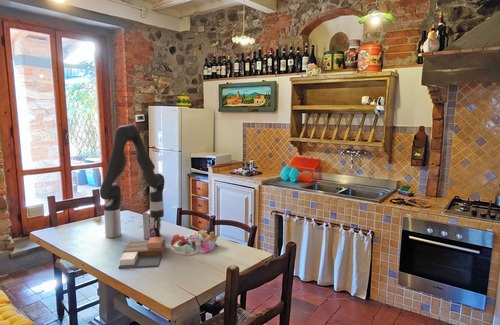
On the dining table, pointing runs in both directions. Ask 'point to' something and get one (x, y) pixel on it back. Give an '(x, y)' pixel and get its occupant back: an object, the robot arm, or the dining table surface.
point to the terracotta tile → (155, 242)
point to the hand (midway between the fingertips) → (157, 237)
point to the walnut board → (144, 249)
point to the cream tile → (128, 258)
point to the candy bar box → (148, 225)
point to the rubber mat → (144, 262)
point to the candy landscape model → (194, 243)
